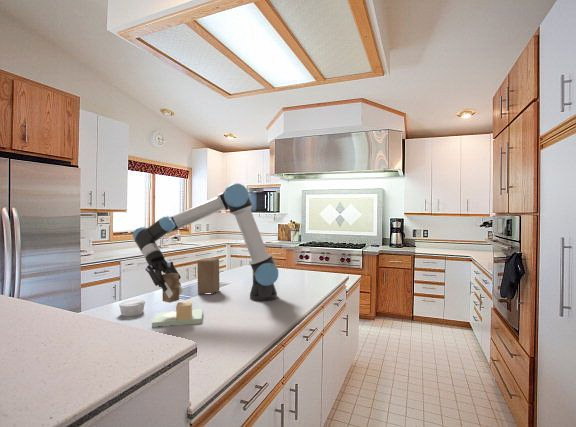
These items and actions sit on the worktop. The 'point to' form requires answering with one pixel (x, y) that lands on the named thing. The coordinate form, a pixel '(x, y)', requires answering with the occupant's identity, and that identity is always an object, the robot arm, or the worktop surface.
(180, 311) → the cube
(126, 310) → the ramekin
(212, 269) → the block
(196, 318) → the board
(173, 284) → the pillar
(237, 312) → the worktop surface
